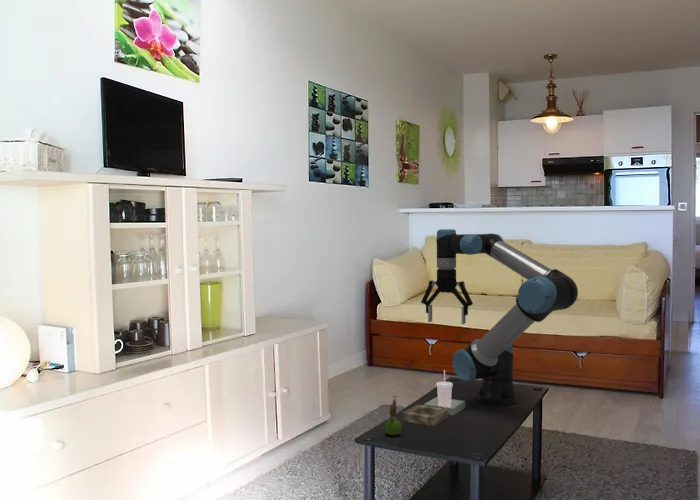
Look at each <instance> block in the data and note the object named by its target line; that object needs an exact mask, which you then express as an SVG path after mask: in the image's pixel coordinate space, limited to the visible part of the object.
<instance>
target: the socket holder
mask: <svg viewBox="0 0 700 500" xmlns="http://www.w3.org/2000/svg"><path fill="white" fill-rule="evenodd" d="M448 418H449V415H448V409H443V408H437V407H430V406H424V404H415V405H413V406H412V407H410V408H408V409H407V410H405V411H403V412H402V413H401V421H402V422H405V423H412V424H416V425H423V426H427V427H436V426H437V425H439V424H440V423H442V422H444V420H446V419H448Z"/></svg>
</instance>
